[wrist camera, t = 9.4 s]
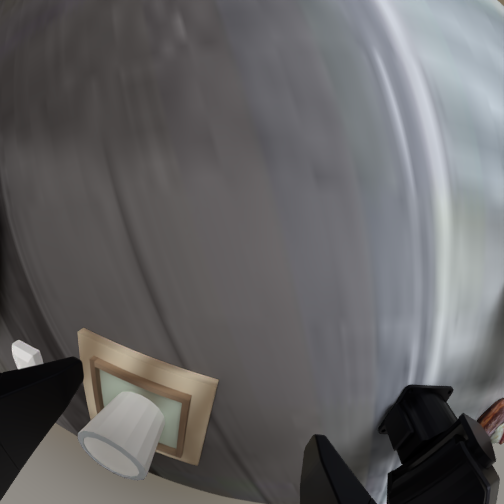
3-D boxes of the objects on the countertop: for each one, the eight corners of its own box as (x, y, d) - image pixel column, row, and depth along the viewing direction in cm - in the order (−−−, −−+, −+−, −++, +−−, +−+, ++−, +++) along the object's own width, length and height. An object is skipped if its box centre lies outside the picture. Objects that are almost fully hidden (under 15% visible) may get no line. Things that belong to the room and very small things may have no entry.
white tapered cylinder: (124, 374, 22) (85, 421, 15) (183, 418, 22) (159, 472, 15) (103, 404, 23) (70, 443, 16) (153, 441, 23) (130, 486, 17)
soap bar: (38, 389, 27) (28, 398, 24) (20, 338, 25) (8, 346, 23) (59, 401, 27) (49, 411, 24) (41, 349, 25) (28, 358, 22)
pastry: (496, 426, 21) (509, 445, 16) (460, 445, 22) (472, 467, 17) (514, 388, 19) (531, 407, 14) (478, 408, 20) (495, 431, 15)
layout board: (218, 379, 22) (214, 392, 20) (199, 459, 25) (196, 470, 23) (83, 327, 22) (72, 335, 21) (94, 417, 25) (88, 425, 24)
